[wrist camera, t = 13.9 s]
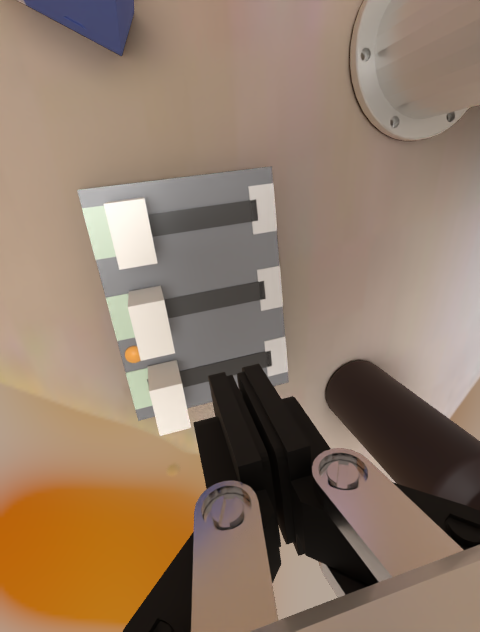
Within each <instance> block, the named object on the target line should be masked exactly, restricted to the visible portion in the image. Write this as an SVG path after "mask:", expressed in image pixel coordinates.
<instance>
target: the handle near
mask: <svg viewBox="0 0 480 632" xmlns="http://www.w3.org/2000/svg"><path fill="white" fill-rule="evenodd" d="M103 205H104V209H105V213H106V217H107V221H108V225H109V229H110V233H111V237H112V242H113V246H114V250H115V254H116V258H117V262H118V266H119V270H121V269H127V268H133V267H139V266H145V265H151V264H157V263H158V262H157V257H156V253H155V248H154V243H153V238H152V233H151V228H150V223H149V218H148V213H147V208H146V203H145V198H144V197H142V198H134V199H126V200H119V201H111V202H107V203H104V204H103Z"/></svg>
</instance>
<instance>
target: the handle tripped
mask: <svg viewBox="0 0 480 632" xmlns="http://www.w3.org/2000/svg"><path fill="white" fill-rule="evenodd" d="M128 311H129V315H130V319H131V323H132V327H133V331H134V335H135V339H136V343H137V347H138V352H139V356H140V360H141V361H143V360H147V359H152V358H156V357H161V356H165V355H170V354H174V353H175V350H174V345H173V340H172V335H171V330H170V325H169V321H168V316H167V311H166V306H165V301H164V297H163V293H162V289H161V286H156V287H150V288H145V289H139V290H134V291H129V295H128Z"/></svg>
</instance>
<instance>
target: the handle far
mask: <svg viewBox="0 0 480 632" xmlns="http://www.w3.org/2000/svg"><path fill="white" fill-rule="evenodd" d="M147 367H148V383H149V393H150V397H151V401H152V406H153V410H154V414H155V418H156V422H157V426H158V430H159V434H160V436H162V435H166V434H170V433H174V432H177V431H181V430H185V429H188V428H191V425H190V420H189V415H188V410H187V405H186V400H185V395H184V390H183V385H182V381H181V377H180V372H179V368H178V364H177V360H174V361H169V362H165V363H161V364H156V365H152V366H147Z"/></svg>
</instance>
